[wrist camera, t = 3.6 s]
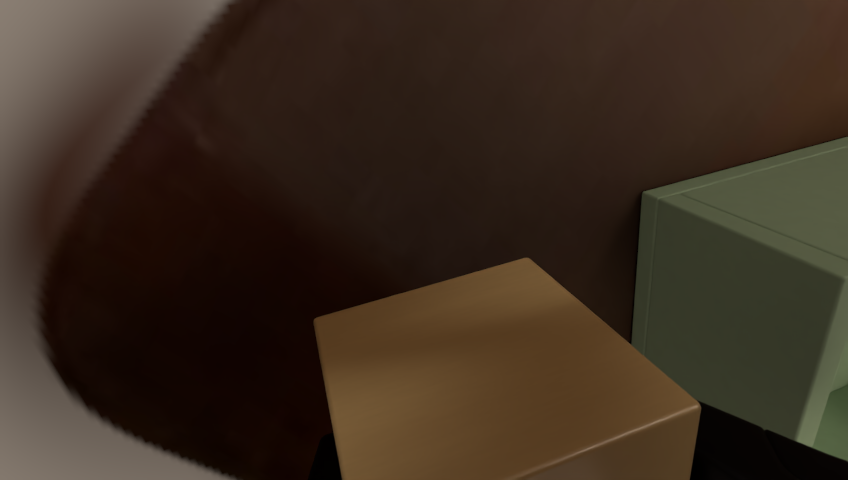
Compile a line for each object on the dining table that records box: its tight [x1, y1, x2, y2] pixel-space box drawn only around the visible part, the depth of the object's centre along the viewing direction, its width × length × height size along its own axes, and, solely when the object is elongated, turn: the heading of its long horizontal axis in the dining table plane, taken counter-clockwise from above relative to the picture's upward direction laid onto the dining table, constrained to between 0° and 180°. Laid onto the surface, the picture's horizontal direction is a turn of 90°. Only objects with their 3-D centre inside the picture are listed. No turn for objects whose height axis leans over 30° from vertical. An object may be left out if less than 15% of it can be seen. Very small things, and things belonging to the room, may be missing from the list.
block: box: [313, 258, 701, 480], centre depth 8 cm, size 4×4×4 cm
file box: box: [631, 137, 848, 461], centre depth 16 cm, size 12×12×6 cm
